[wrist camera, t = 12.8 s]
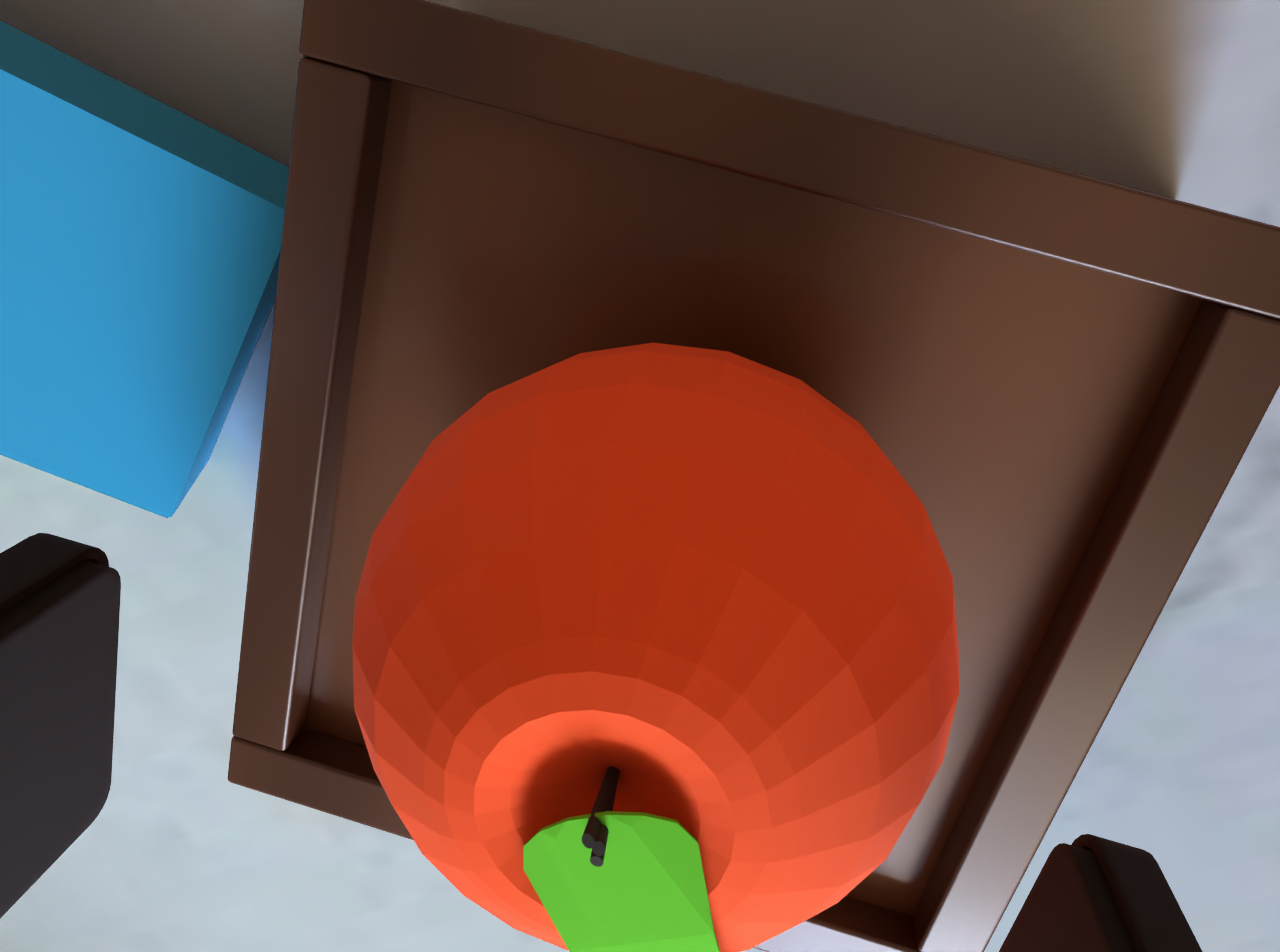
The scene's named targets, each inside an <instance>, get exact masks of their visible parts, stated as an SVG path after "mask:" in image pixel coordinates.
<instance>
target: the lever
mask: <svg viewBox="0 0 1280 952" xmlns="http://www.w3.org/2000/svg"><path fill="white" fill-rule="evenodd" d="M288 170H289V167H287V166H286V165H284V164H282V163H280V162H278V161H276V160H274V159H272V158H270V157H268V156H266V155H264V154H262V153H260V152H258V151H256V150H254V149H252V148H250V147H248V146H246V145H244V144H242V143H240V142H238V141H236V140H234V139H232V138H230V137H228V136H226V135H224V134H222V133H221V132H219V131H217V130H215V129H213V128H211V127H209V126H207V125H205V124H203V123H201V122H199V121H197V120H195V119H193V118H191V117H189V116H187V115H185V114H183V113H181V112H179V111H177V110H175V109H173V108H171V107H169V106H167V105H165V104H163V103H161V102H159V101H157V100H156V99H154V98H152V97H150V96H148V95H146V94H144V93H142V92H140V91H138V90H136V89H134V88H132V87H130V86H128V85H126V84H124V83H122V82H120V81H118V80H116V79H114V78H112V77H110V76H108V75H106V74H104V73H102V72H100V71H98V70H96V69H94V68H93V67H91V66H89V65H87V64H85V63H83V62H81V61H79V60H77V59H75V58H73V57H71V56H69V55H67V54H65V53H63V52H61V51H59V50H57V49H55V48H53V47H51V46H49V45H47V44H45V43H43V42H41V41H39V40H37V39H35V38H33V37H31V36H29V35H28V34H26V33H24V32H22V31H20V30H18V29H16V28H14V27H12V26H10V25H8V24H6V23H4V22H2V21H0V455H3V456H6V457H8V458H11V459H14V460H16V461H19V462H21V463H24V464H27V465H29V466H32V467H35V468H37V469H40V470H42V471H45V472H48V473H50V474H53V475H56V476H58V477H61V478H63V479H66V480H69V481H71V482H74V483H77V484H79V485H82V486H84V487H87V488H90V489H92V490H95V491H98V492H100V493H103V494H105V495H108V496H111V497H113V498H116V499H119V500H121V501H124V502H126V503H129V504H132V505H134V506H137V507H140V508H142V509H145V510H147V511H150V512H153V513H155V514H158V515H161V516H163V517H166V518H168V517H171V516H173V514H174V512H175V511H176V509H177V508H178V506H179V505H180V503H181V502H182V500H183V499H184V497H185V495H186V494H187V492H188V491H189V489H190V488H191V486H192V485H193V483H194V482H195V480H196V478H197V477H198V475H199V474H200V472H201V471H202V469H203V468H204V466H205V465H206V463H207V461H208V460H209V457H210V455H211V453H212V450H213V448H214V445H215V443H216V440H217V438H218V436H219V433H220V431H221V428H222V426H223V424H224V421H225V419H226V416H227V414H228V411H229V409H230V407H231V404H232V402H233V399H234V397H235V394H236V392H237V390H238V387H239V385H240V382H241V380H242V378H243V375H244V373H245V370H246V368H247V365H248V363H249V361H250V358H251V356H252V353H253V351H254V348H255V346H256V344H257V341H258V339H259V336H260V334H261V332H262V329H263V327H264V324H265V322H266V319H267V317H268V315H269V312H270V310H271V307H272V305H273V302H274V300H275V298H276V291H277V280H278V270H279V260H280V250H281V240H282V230H283V220H284V210H285V200H286V190H287V180H288Z"/></svg>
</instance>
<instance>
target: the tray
mask: <svg viewBox="0 0 1280 952" xmlns="http://www.w3.org/2000/svg"><path fill="white" fill-rule="evenodd" d="M300 53H301V54H302V55H303V56H306V57H302V58H301V59H300V62H299V69H298V79H297V89H296V99H295V109H294V119H293V130H292V140H291V150H290V160H289V170H288V180H287V190H286V200H285V210H284V220H283V230H282V240H281V250H280V260H279V270H278V280H277V291H276V301H275V311H274V321H273V331H272V341H271V351H270V361H269V371H268V381H267V391H266V401H265V411H264V421H263V431H262V441H261V451H260V462H259V472H258V482H257V492H256V502H255V512H254V522H253V532H252V542H251V552H250V562H249V572H248V582H247V592H246V602H245V612H244V623H243V633H242V643H241V653H240V663H239V673H238V683H237V693H236V703H235V713H234V723H233V735H234V736H233V738H232V741H231V751H230V761H229V771H228V781H230V782H231V783H235V784H238V785H241V786H244V787H247V788H250V789H254V790H257V791H260V792H263V793H266V794H269V795H273V796H276V797H279V798H282V799H285V800H288V801H291V802H295V803H298V804H301V805H304V806H307V807H310V808H314V809H317V810H320V811H323V812H326V813H329V814H333V815H336V816H339V817H342V818H345V819H348V820H352V821H355V822H358V823H361V824H364V825H367V826H371V827H374V828H377V829H380V830H383V831H386V832H390V833H393V834H396V835H399V836H402V837H405V838H409V839H412V840H413V838H412V836H411V835H410V833H409V832H408V830H407V828H406V827H405V825H404V823H403V822H402V820H401V819H400V817H399V815H398V814H397V812H396V811H395V809H394V807H393V806H392V804H391V802H390V800H389V798H388V796H387V794H386V792H385V790H384V789H383V787H382V785H381V783H380V781H379V779H378V777H377V775H376V773H375V771H374V769H373V766H372V763H371V759H370V756H369V753H368V750H367V747H366V744H365V741H364V737H363V734H362V731H361V728H360V725H359V722H358V719H357V715H356V712H355V709H354V682H353V650H352V643H353V627H354V610H355V598H356V594H357V591H358V587H359V583H360V580H361V576H362V572H363V569H364V565H365V561H366V558H367V554H368V550H369V546H370V543H371V539H372V535H373V533H374V531H375V530H376V528H377V527H378V525H379V523H380V522H381V520H382V519H383V517H384V516H385V514H386V512H387V511H388V509H389V508H390V506H391V504H392V503H393V501H394V500H395V498H396V496H397V495H398V493H399V492H400V490H401V489H402V487H403V485H404V484H405V482H406V481H407V479H408V478H409V476H410V475H411V473H412V471H413V470H414V468H415V467H416V465H417V464H418V462H419V461H420V459H421V457H422V456H423V454H424V453H425V451H426V450H427V448H428V447H429V445H430V443H431V442H432V440H434V439H435V438H436V437H437V436H438V435H439V434H441V433H442V432H443V431H444V430H445V429H447V428H448V427H449V426H450V425H451V424H452V423H454V422H455V421H456V420H457V419H458V418H460V417H461V416H462V415H463V414H464V413H466V412H467V411H468V410H469V409H470V408H471V407H473V406H474V405H475V404H476V403H477V402H479V401H480V400H481V399H482V398H483V397H484V396H486V395H487V394H488V393H490V392H493V391H495V390H497V389H499V388H502V387H504V386H506V385H508V384H511V383H513V382H515V381H518V380H520V379H522V378H524V377H527V376H529V375H531V374H533V373H536V372H538V371H540V370H543V369H545V368H547V367H549V366H552V365H554V364H556V363H558V362H561V361H563V360H565V359H568V358H570V357H572V356H575V355H577V354H579V353H585V352H591V351H598V350H605V349H612V348H619V347H626V346H633V345H640V344H647V343H661V344H669V345H678V346H686V347H695V348H703V349H712V350H720V351H729V352H731V353H734V354H736V355H739V356H741V357H744V358H747V359H749V360H752V361H754V362H757V363H759V364H762V365H764V366H767V367H770V368H772V369H775V370H777V371H780V372H782V373H785V374H787V375H790V376H793V377H795V378H798V379H800V380H801V381H803V382H804V383H806V384H807V385H808V386H810V387H811V388H812V389H814V390H815V391H816V392H818V393H819V394H821V395H822V396H823V397H825V398H826V399H827V400H829V401H830V402H831V403H833V404H834V405H836V406H837V407H838V408H840V409H841V410H842V411H844V412H845V413H846V414H848V415H849V416H851V417H852V418H853V419H855V420H856V421H857V422H859V423H860V424H861V425H862V426H863V427H864V429H865V430H866V431H867V432H868V434H869V435H870V436H871V437H872V439H873V440H874V441H875V442H876V444H877V445H878V446H879V448H880V449H881V450H882V451H883V453H884V454H885V455H886V456H887V458H888V459H889V460H890V461H891V463H892V464H893V465H894V467H895V468H896V469H897V470H898V472H899V473H900V474H901V475H902V477H903V478H904V479H905V480H906V482H907V483H908V484H909V486H910V487H911V489H912V490H913V491H914V493H915V494H916V495H917V497H918V498H919V500H920V501H921V502H922V504H923V505H924V507H925V509H926V512H927V514H928V517H929V519H930V522H931V524H932V527H933V529H934V532H935V534H936V537H937V539H938V542H939V544H940V547H941V549H942V551H943V554H944V556H945V559H946V561H947V564H948V566H949V569H950V571H951V574H952V576H953V586H954V598H955V610H956V623H957V635H958V647H959V696H958V700H957V704H956V709H955V713H954V717H953V721H952V725H951V730H950V734H949V738H948V742H947V747H946V751H945V755H944V759H943V762H942V764H941V766H940V768H939V770H938V771H937V773H936V775H935V777H934V779H933V780H932V782H931V784H930V786H929V788H928V790H927V791H926V793H925V795H924V797H923V799H922V800H921V802H920V804H919V806H918V807H917V809H916V811H915V812H914V814H913V816H912V817H911V819H910V821H909V822H908V824H907V826H906V827H905V829H904V831H903V832H902V834H901V835H900V837H899V839H898V840H897V842H896V844H895V845H894V847H893V849H892V850H891V852H890V854H889V855H888V857H887V859H886V860H885V861H884V862H883V863H882V864H880V865H879V866H878V867H877V868H876V869H875V870H874V871H873V872H871V873H870V874H869V875H868V876H867V877H866V878H865V879H864V880H863V881H861V882H860V883H859V884H858V885H857V886H856V887H855V888H854V889H853V890H851V891H850V892H849V893H848V894H847V895H846V896H845V897H844V898H843V899H841V900H840V901H839V902H838V903H837V904H835V905H833V906H831V907H829V908H828V909H826V910H824V911H822V912H820V913H819V914H817V915H815V916H813V917H811V918H810V919H808V920H806V921H804V922H802V923H801V924H799V925H797V926H795V927H793V928H791V929H789V930H787V931H785V932H783V933H781V934H779V935H777V936H775V937H773V938H771V939H769V940H767V941H765V942H763V943H761V944H759V945H757V946H755V947H753V948H757V949H760V950H763V951H766V952H984V950H985V948H986V946H987V944H988V943H989V941H990V939H991V937H992V935H993V933H994V931H995V929H996V927H997V925H998V923H999V921H1000V920H1001V918H1002V916H1003V914H1004V912H1005V910H1006V908H1007V906H1008V904H1009V902H1010V900H1011V899H1012V897H1013V895H1014V893H1015V891H1016V889H1017V887H1018V885H1019V883H1020V881H1021V879H1022V877H1023V876H1024V874H1025V872H1026V870H1027V868H1028V866H1029V864H1030V862H1031V860H1032V858H1033V856H1034V855H1035V853H1036V851H1037V849H1038V847H1039V845H1040V843H1041V841H1042V839H1043V837H1044V835H1045V833H1046V832H1047V830H1048V828H1049V826H1050V824H1051V822H1052V820H1053V818H1054V816H1055V814H1056V812H1057V810H1058V809H1059V807H1060V805H1061V803H1062V801H1063V799H1064V797H1065V795H1066V793H1067V791H1068V789H1069V788H1070V786H1071V784H1072V782H1073V780H1074V778H1075V776H1076V774H1077V772H1078V770H1079V768H1080V766H1081V765H1082V763H1083V761H1084V759H1085V757H1086V755H1087V753H1088V751H1089V749H1090V747H1091V745H1092V744H1093V742H1094V740H1095V738H1096V736H1097V734H1098V732H1099V730H1100V728H1101V726H1102V724H1103V722H1104V721H1105V719H1106V717H1107V715H1108V713H1109V711H1110V709H1111V707H1112V705H1113V703H1114V701H1115V699H1116V698H1117V696H1118V694H1119V692H1120V690H1121V688H1122V686H1123V684H1124V682H1125V680H1126V678H1127V677H1128V675H1129V673H1130V671H1131V669H1132V667H1133V665H1134V663H1135V661H1136V659H1137V657H1138V655H1139V654H1140V652H1141V650H1142V648H1143V646H1144V644H1145V642H1146V640H1147V638H1148V636H1149V634H1150V633H1151V631H1152V629H1153V627H1154V625H1155V623H1156V621H1157V619H1158V617H1159V615H1160V613H1161V611H1162V610H1163V608H1164V606H1165V604H1166V602H1167V600H1168V598H1169V596H1170V594H1171V592H1172V590H1173V588H1174V587H1175V585H1176V583H1177V581H1178V579H1179V577H1180V575H1181V573H1182V571H1183V569H1184V567H1185V566H1186V564H1187V562H1188V560H1189V558H1190V556H1191V554H1192V552H1193V550H1194V548H1195V546H1196V544H1197V543H1198V541H1199V539H1200V537H1201V535H1202V533H1203V531H1204V529H1205V527H1206V525H1207V523H1208V522H1209V520H1210V518H1211V516H1212V514H1213V512H1214V510H1215V508H1216V506H1217V504H1218V502H1219V500H1220V499H1221V497H1222V495H1223V493H1224V491H1225V489H1226V487H1227V485H1228V483H1229V481H1230V479H1231V477H1232V476H1233V474H1234V472H1235V470H1236V468H1237V466H1238V464H1239V462H1240V460H1241V458H1242V456H1243V455H1244V453H1245V451H1246V449H1247V447H1248V445H1249V443H1250V441H1251V439H1252V437H1253V435H1254V433H1255V432H1256V430H1257V428H1258V426H1259V424H1260V422H1261V420H1262V418H1263V416H1264V414H1265V412H1266V411H1267V409H1268V407H1269V405H1270V403H1271V401H1272V399H1273V397H1274V395H1275V393H1276V391H1277V389H1278V388H1279V386H1280V227H1277V226H1273V225H1269V224H1265V223H1261V222H1258V221H1254V220H1250V219H1246V218H1243V217H1239V216H1235V215H1231V214H1227V213H1224V212H1220V211H1216V210H1212V209H1209V208H1205V207H1201V206H1197V205H1194V204H1190V203H1186V202H1182V201H1178V200H1175V199H1171V198H1167V197H1163V196H1160V195H1156V194H1152V193H1148V192H1144V191H1141V190H1137V189H1133V188H1129V187H1126V186H1122V185H1118V184H1114V183H1111V182H1107V181H1103V180H1099V179H1095V178H1092V177H1088V176H1084V175H1080V174H1077V173H1073V172H1069V171H1065V170H1061V169H1058V168H1054V167H1050V166H1046V165H1043V164H1039V163H1035V162H1031V161H1028V160H1024V159H1020V158H1016V157H1012V156H1009V155H1005V154H1001V153H997V152H994V151H990V150H986V149H982V148H978V147H975V146H971V145H967V144H963V143H960V142H956V141H952V140H948V139H945V138H941V137H937V136H933V135H929V134H926V133H922V132H918V131H914V130H911V129H907V128H903V127H899V126H895V125H892V124H888V123H884V122H880V121H877V120H873V119H869V118H865V117H862V116H858V115H854V114H850V113H846V112H843V111H839V110H835V109H831V108H828V107H824V106H820V105H816V104H812V103H809V102H805V101H801V100H797V99H794V98H790V97H786V96H782V95H779V94H775V93H771V92H767V91H763V90H760V89H756V88H752V87H748V86H745V85H741V84H737V83H733V82H729V81H726V80H722V79H718V78H714V77H711V76H707V75H703V74H699V73H696V72H692V71H688V70H684V69H680V68H677V67H673V66H669V65H665V64H662V63H658V62H654V61H650V60H646V59H643V58H639V57H635V56H631V55H628V54H624V53H620V52H616V51H612V50H609V49H605V48H601V47H597V46H594V45H590V44H586V43H582V42H579V41H575V40H571V39H567V38H563V37H560V36H556V35H552V34H548V33H545V32H541V31H537V30H533V29H529V28H526V27H522V26H518V25H514V24H511V23H507V22H503V21H499V20H496V19H492V18H488V17H484V16H480V15H477V14H473V13H469V12H465V11H462V10H458V9H454V8H450V7H446V6H443V5H439V4H435V3H431V2H428V1H424V0H304V9H303V19H302V29H301V39H300Z"/></svg>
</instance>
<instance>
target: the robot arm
mask: <svg viewBox="0 0 1280 952" xmlns="http://www.w3.org/2000/svg"><path fill="white" fill-rule="evenodd" d="M120 589H121V582H120V576H119V573H118V571H116V570H115V569H114V568H111V567H109V563H108V559H107V556H106V554H105V552H103V551H102V550H100V549H99V548H96V547H92V546H89V545H85V544H82V543H79V542H75V541H72V540H68V539H65V538H61V537H58V536H54V535H51V534H46V533H38V534H36V535H33V536H30V537H28V538H27V539H25V540H23V541H21V542H20V543H18V544H16V545H14V546H13V547H11V548H9V549H7V550H5V551H4V552H2V553H0V918H1V917H2V916H3V915H4V914H5V913H6V912H7V911H8V910H9V909H10V908H11V907H12V906H13V905H14V904H15V903H16V901H17V900H18V899H19V898H20V897H21V896H22V895H23V894H24V893H25V892H26V891H27V890H28V889H29V888H30V887H31V886H32V885H33V884H34V883H35V882H36V881H37V880H38V879H39V878H40V877H41V875H42V874H43V873H44V872H45V871H46V870H47V869H48V868H49V867H50V866H51V865H52V864H53V863H54V862H55V861H56V860H57V859H58V858H59V857H60V856H61V855H62V854H63V853H64V852H65V851H66V849H67V848H68V847H69V846H70V845H71V844H72V843H73V842H74V841H75V840H76V839H77V838H78V837H79V836H80V835H81V834H82V833H83V832H84V831H85V830H86V829H87V828H88V827H89V826H90V825H91V823H92V822H93V821H94V820H95V819H96V817H97V816H98V814H99V813H100V811H101V809H102V808H103V806H104V804H105V801H106V799H107V797H108V793H109V790H110V785H111V772H112V751H113V731H114V711H115V691H116V670H117V650H118V630H119V610H120ZM999 952H1202V950H1201V948H1200V946H1199V944H1198V942H1197V940H1196V938H1195V936H1194V934H1193V932H1192V930H1191V928H1190V926H1189V924H1188V922H1187V920H1186V918H1185V916H1184V914H1183V913H1182V911H1181V909H1180V907H1179V905H1178V903H1177V901H1176V899H1175V897H1174V895H1173V893H1172V891H1171V889H1170V887H1169V885H1168V883H1167V881H1166V879H1165V877H1164V875H1163V873H1162V871H1161V869H1160V867H1159V865H1158V863H1157V862H1156V860H1155V859H1154V857H1153V856H1152V855H1151V854H1150V853H1148V852H1146V851H1145V850H1142V849H1138V848H1135V847H1131V846H1128V845H1125V844H1121V843H1118V842H1114V841H1111V840H1107V839H1104V838H1100V837H1097V836H1093V835H1090V834H1085V835H1081V836H1079V837H1078V838H1077V839H1075V840H1074V842H1073V843H1072V845H1068V844H1065V843H1063V844H1059V845H1057V846H1056V847H1055V848H1054V849H1053V850H1052V852H1051V853H1050V855H1049V857H1048V859H1047V861H1046V863H1045V865H1044V867H1043V868H1042V870H1041V872H1040V874H1039V876H1038V878H1037V880H1036V882H1035V884H1034V886H1033V888H1032V890H1031V891H1030V893H1029V895H1028V897H1027V899H1026V901H1025V903H1024V905H1023V907H1022V909H1021V911H1020V913H1019V914H1018V916H1017V918H1016V920H1015V922H1014V924H1013V926H1012V928H1011V930H1010V932H1009V934H1008V936H1007V937H1006V939H1005V941H1004V943H1003V945H1002V947H1001V949H1000V951H999Z"/></svg>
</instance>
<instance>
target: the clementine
mask: <svg viewBox="0 0 1280 952" xmlns="http://www.w3.org/2000/svg"><path fill="white" fill-rule="evenodd" d="M352 650H353V682H354V709H355V712H356V715H357V719H358V722H359V725H360V728H361V731H362V734H363V737H364V741H365V744H366V747H367V750H368V753H369V756H370V759H371V763H372V766H373V769H374V771H375V773H376V775H377V777H378V779H379V781H380V783H381V785H382V787H383V789H384V790H385V792H386V794H387V796H388V798H389V800H390V802H391V804H392V806H393V807H394V809H395V811H396V812H397V814H398V815H399V817H400V819H401V820H402V822H403V823H404V825H405V827H406V828H407V830H408V832H409V833H410V835H411V836H412V838H413V840H414V841H415V843H416V844H417V846H418V848H419V849H420V851H421V852H422V854H423V855H424V856H425V857H426V858H427V859H428V860H429V861H430V862H431V863H432V864H433V865H434V866H435V867H436V868H437V869H438V870H439V871H440V872H441V873H442V874H443V875H444V876H445V877H446V878H447V879H448V880H449V881H450V882H451V883H452V884H453V885H454V886H455V887H456V888H457V889H458V890H459V891H460V892H461V893H462V894H463V895H464V896H465V897H467V898H469V899H470V900H472V901H473V902H475V903H476V904H478V905H479V906H481V907H482V908H484V909H485V910H487V911H488V912H490V913H491V914H493V915H494V916H496V917H497V918H499V919H501V920H502V921H504V922H505V923H507V924H508V925H510V926H511V927H513V928H514V929H517V930H519V931H522V932H524V933H526V934H529V935H531V936H534V937H536V938H539V939H541V940H544V941H546V942H549V943H551V944H554V945H556V946H559V947H561V948H563V949H566V950H568V951H570V952H740V951H744V950H749V949H751V948H753V947H755V946H757V945H759V944H761V943H763V942H765V941H767V940H769V939H771V938H773V937H775V936H777V935H779V934H781V933H783V932H785V931H787V930H789V929H791V928H793V927H795V926H797V925H799V924H801V923H802V922H804V921H806V920H808V919H810V918H811V917H813V916H815V915H817V914H819V913H820V912H822V911H824V910H826V909H828V908H829V907H831V906H833V905H835V904H837V903H838V902H839V901H840V900H841V899H843V898H844V897H845V896H846V895H847V894H848V893H849V892H850V891H851V890H853V889H854V888H855V887H856V886H857V885H858V884H859V883H860V882H861V881H863V880H864V879H865V878H866V877H867V876H868V875H869V874H870V873H871V872H873V871H874V870H875V869H876V868H877V867H878V866H879V865H880V864H882V863H883V862H884V861H885V860H886V859H887V857H888V855H889V854H890V852H891V850H892V849H893V847H894V845H895V844H896V842H897V840H898V839H899V837H900V835H901V834H902V832H903V831H904V829H905V827H906V826H907V824H908V822H909V821H910V819H911V817H912V816H913V814H914V812H915V811H916V809H917V807H918V806H919V804H920V802H921V800H922V799H923V797H924V795H925V793H926V791H927V790H928V788H929V786H930V784H931V782H932V780H933V779H934V777H935V775H936V773H937V771H938V770H939V768H940V766H941V764H942V762H943V759H944V755H945V751H946V747H947V742H948V738H949V734H950V730H951V725H952V721H953V717H954V713H955V709H956V704H957V700H958V696H959V647H958V635H957V623H956V610H955V598H954V586H953V576H952V574H951V571H950V569H949V566H948V564H947V561H946V559H945V556H944V554H943V551H942V549H941V547H940V544H939V542H938V539H937V537H936V534H935V532H934V529H933V527H932V524H931V522H930V519H929V517H928V514H927V512H926V509H925V507H924V505H923V504H922V502H921V501H920V500H919V498H918V497H917V495H916V494H915V493H914V491H913V490H912V489H911V487H910V486H909V484H908V483H907V482H906V480H905V479H904V478H903V477H902V475H901V474H900V473H899V472H898V470H897V469H896V468H895V467H894V465H893V464H892V463H891V461H890V460H889V459H888V458H887V456H886V455H885V454H884V453H883V451H882V450H881V449H880V448H879V446H878V445H877V444H876V442H875V441H874V440H873V439H872V437H871V436H870V435H869V434H868V432H867V431H866V430H865V429H864V427H863V426H862V425H861V424H860V423H859V422H857V421H856V420H855V419H853V418H852V417H851V416H849V415H848V414H846V413H845V412H844V411H842V410H841V409H840V408H838V407H837V406H836V405H834V404H833V403H831V402H830V401H829V400H827V399H826V398H825V397H823V396H822V395H821V394H819V393H818V392H816V391H815V390H814V389H812V388H811V387H810V386H808V385H807V384H806V383H804V382H803V381H801V380H800V379H798V378H795V377H793V376H790V375H787V374H785V373H782V372H780V371H777V370H775V369H772V368H770V367H767V366H764V365H762V364H759V363H757V362H754V361H752V360H749V359H747V358H744V357H741V356H739V355H736V354H734V353H731V352H729V351H720V350H712V349H703V348H695V347H686V346H678V345H669V344H661V343H647V344H640V345H633V346H626V347H619V348H612V349H605V350H598V351H591V352H585V353H579V354H577V355H575V356H572V357H570V358H568V359H565V360H563V361H561V362H558V363H556V364H554V365H552V366H549V367H547V368H545V369H543V370H540V371H538V372H536V373H533V374H531V375H529V376H527V377H524V378H522V379H520V380H518V381H515V382H513V383H511V384H508V385H506V386H504V387H502V388H499V389H497V390H495V391H493V392H490V393H488V394H487V395H486V396H484V397H483V398H482V399H481V400H480V401H479V402H477V403H476V404H475V405H474V406H473V407H471V408H470V409H469V410H468V411H467V412H466V413H464V414H463V415H462V416H461V417H460V418H458V419H457V420H456V421H455V422H454V423H452V424H451V425H450V426H449V427H448V428H447V429H445V430H444V431H443V432H442V433H441V434H439V435H438V436H437V437H436V438H435V439H434V440H432V442H431V443H430V445H429V447H428V448H427V450H426V451H425V453H424V454H423V456H422V457H421V459H420V461H419V462H418V464H417V465H416V467H415V468H414V470H413V471H412V473H411V475H410V476H409V478H408V479H407V481H406V482H405V484H404V485H403V487H402V489H401V490H400V492H399V493H398V495H397V496H396V498H395V500H394V501H393V503H392V504H391V506H390V508H389V509H388V511H387V512H386V514H385V516H384V517H383V519H382V520H381V522H380V523H379V525H378V527H377V528H376V530H375V531H374V533H373V535H372V539H371V543H370V546H369V550H368V554H367V558H366V561H365V565H364V569H363V572H362V576H361V580H360V583H359V587H358V591H357V594H356V598H355V610H354V627H353V643H352Z"/></svg>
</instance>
